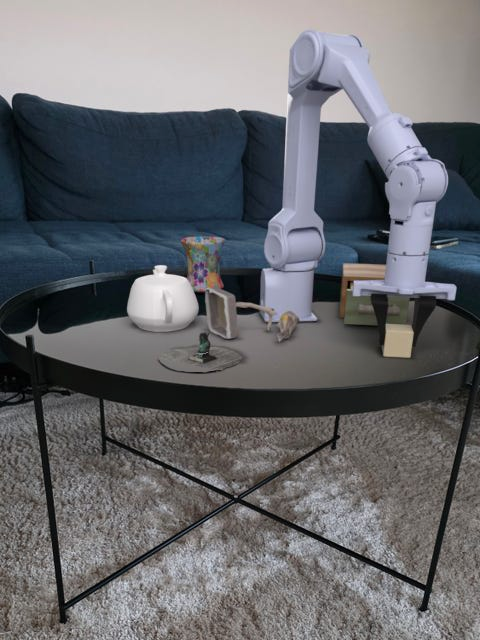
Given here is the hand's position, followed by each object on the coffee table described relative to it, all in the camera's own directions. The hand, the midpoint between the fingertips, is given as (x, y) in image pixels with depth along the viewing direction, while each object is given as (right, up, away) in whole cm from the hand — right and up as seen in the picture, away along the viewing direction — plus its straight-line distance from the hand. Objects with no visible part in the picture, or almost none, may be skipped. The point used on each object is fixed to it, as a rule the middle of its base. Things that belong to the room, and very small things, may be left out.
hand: (396, 344), depth 90 cm
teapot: (-37, +5, +14) cm, 40 cm away
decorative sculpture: (-21, +2, +8) cm, 23 cm away
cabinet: (+1, +10, +23) cm, 25 cm away
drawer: (0, +6, +14) cm, 15 cm away
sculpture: (-30, -3, -2) cm, 30 cm away
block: (0, -1, +1) cm, 1 cm away
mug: (-32, +17, +39) cm, 53 cm away
